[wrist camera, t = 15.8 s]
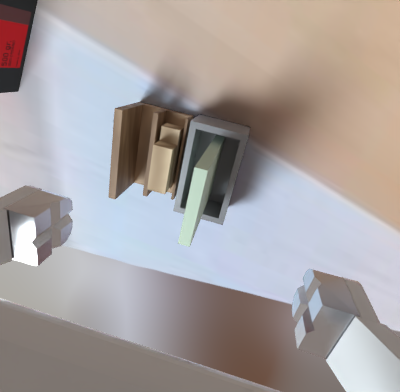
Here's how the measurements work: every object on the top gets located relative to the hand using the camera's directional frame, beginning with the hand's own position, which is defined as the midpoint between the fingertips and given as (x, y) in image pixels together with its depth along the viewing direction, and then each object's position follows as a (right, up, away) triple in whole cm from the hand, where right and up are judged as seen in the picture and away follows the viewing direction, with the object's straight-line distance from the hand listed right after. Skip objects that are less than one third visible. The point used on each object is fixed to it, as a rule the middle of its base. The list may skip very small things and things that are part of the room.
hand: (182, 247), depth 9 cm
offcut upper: (-6, +7, +39) cm, 40 cm away
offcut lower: (-5, +9, +41) cm, 42 cm away
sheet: (+3, +7, +41) cm, 42 cm away
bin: (+3, +8, +42) cm, 43 cm away
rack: (-7, +11, +43) cm, 44 cm away
